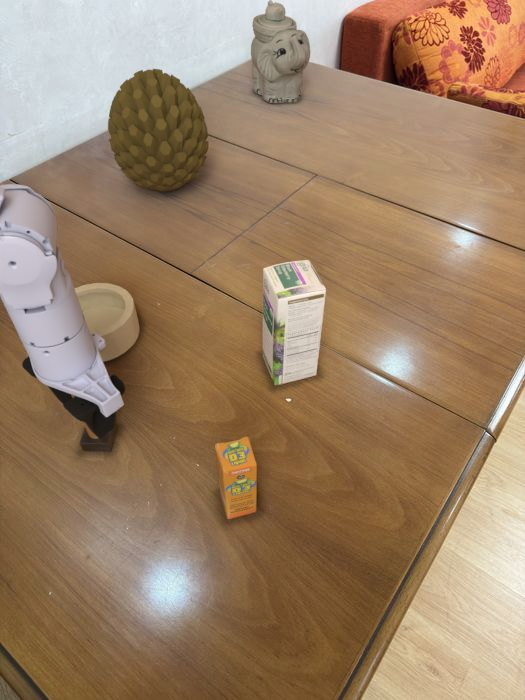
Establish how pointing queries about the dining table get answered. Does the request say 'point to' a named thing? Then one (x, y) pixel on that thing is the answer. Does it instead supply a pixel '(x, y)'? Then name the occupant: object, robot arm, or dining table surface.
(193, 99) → the decorative object
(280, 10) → the grey elephant figurine
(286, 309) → the syrup box
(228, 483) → the supplement box
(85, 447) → the wooden handle stamp
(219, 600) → the dining table surface
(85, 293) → the cream ceramic ramekin
